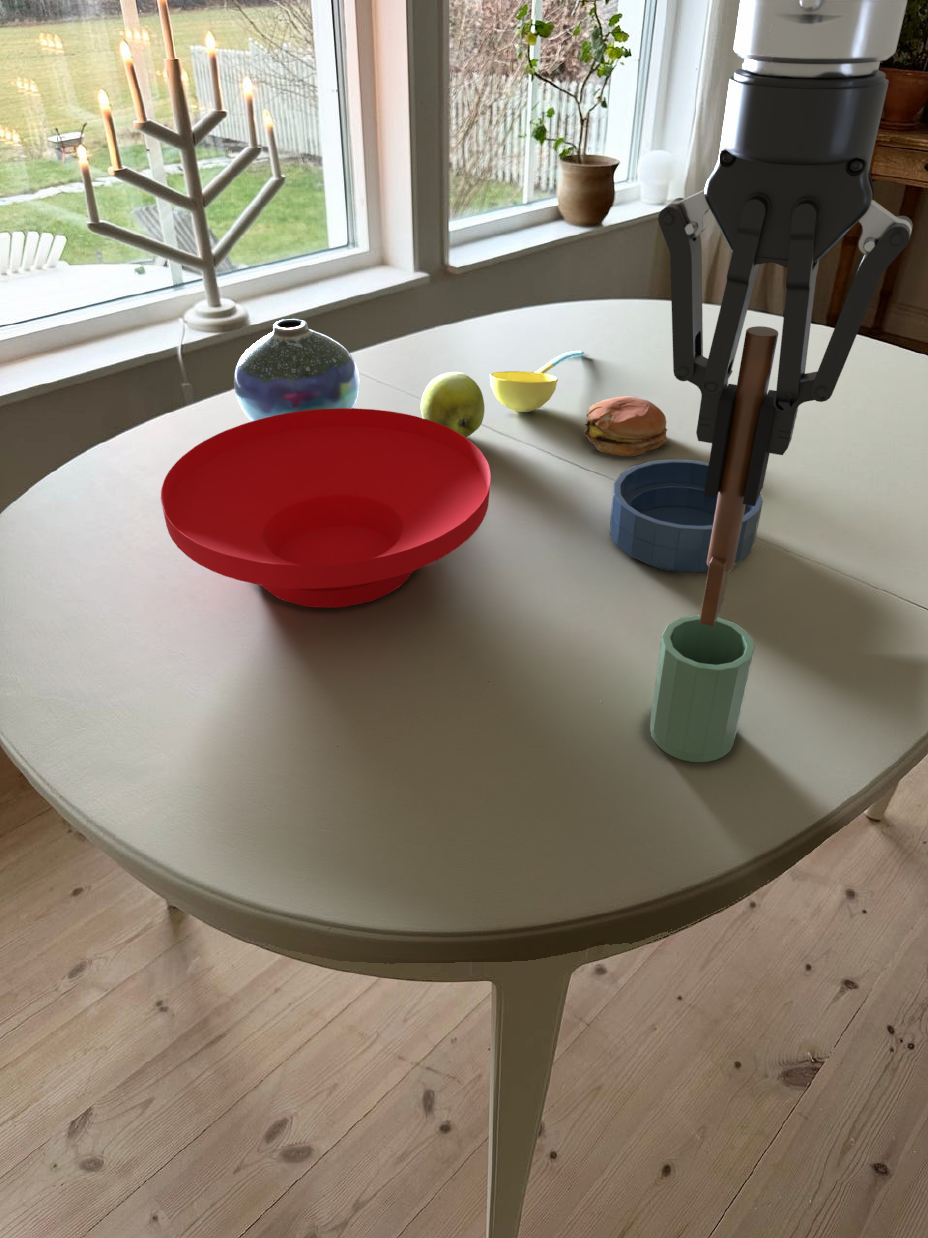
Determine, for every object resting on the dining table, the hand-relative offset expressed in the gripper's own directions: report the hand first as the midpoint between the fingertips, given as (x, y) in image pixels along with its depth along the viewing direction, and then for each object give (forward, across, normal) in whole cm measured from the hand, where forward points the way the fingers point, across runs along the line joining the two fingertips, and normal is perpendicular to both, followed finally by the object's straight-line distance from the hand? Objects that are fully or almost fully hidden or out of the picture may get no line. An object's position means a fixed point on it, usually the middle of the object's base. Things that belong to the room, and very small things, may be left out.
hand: (733, 491), depth 59 cm
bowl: (+21, -38, +10) cm, 45 cm away
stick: (+10, 0, 0) cm, 10 cm away
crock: (+21, 0, 0) cm, 21 cm away
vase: (+21, -59, +36) cm, 72 cm away
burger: (+21, -20, +48) cm, 56 cm away
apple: (+21, -40, +41) cm, 61 cm away
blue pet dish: (+21, -8, +28) cm, 36 cm away
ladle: (+21, -35, +61) cm, 73 cm away
